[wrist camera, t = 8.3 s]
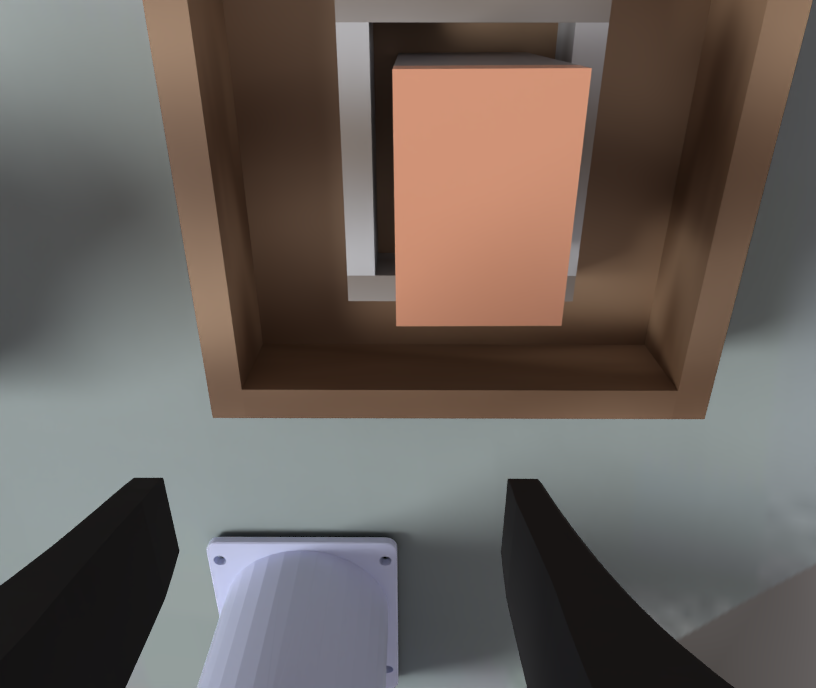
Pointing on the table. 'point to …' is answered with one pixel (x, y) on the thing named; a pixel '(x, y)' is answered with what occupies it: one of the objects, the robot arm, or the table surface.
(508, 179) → the rectangular block
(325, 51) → the walled box
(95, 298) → the table surface
